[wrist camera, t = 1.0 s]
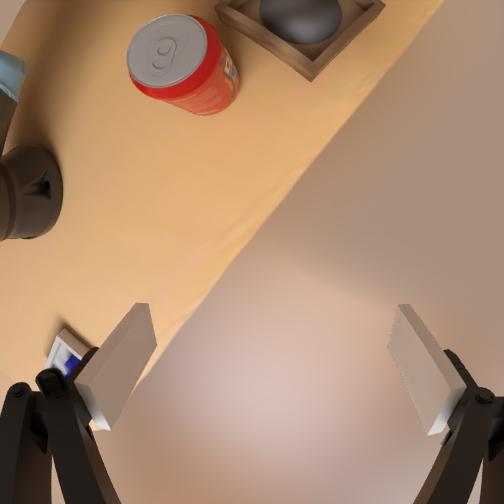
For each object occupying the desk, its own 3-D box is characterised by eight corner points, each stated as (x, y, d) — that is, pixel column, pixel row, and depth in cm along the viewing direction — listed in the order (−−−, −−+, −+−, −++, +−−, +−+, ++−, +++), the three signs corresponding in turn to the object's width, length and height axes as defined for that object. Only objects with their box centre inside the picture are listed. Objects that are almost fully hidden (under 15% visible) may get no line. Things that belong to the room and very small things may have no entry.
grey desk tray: (50, 363, 50) (43, 370, 47) (65, 327, 46) (56, 335, 43) (85, 393, 51) (79, 401, 49) (106, 362, 47) (99, 372, 44)
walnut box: (220, 20, 29) (214, 7, 25) (290, -40, 24) (290, -56, 21) (310, 82, 31) (314, 74, 27) (376, 17, 26) (386, 5, 23)
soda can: (171, 112, 33) (108, 93, 19) (186, 54, 30) (134, 7, 16) (232, 122, 33) (201, 101, 19) (248, 62, 30) (227, 8, 16)
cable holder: (74, 351, 46) (63, 363, 43) (88, 364, 47) (78, 377, 43) (61, 367, 49) (52, 379, 45) (74, 379, 49) (65, 391, 46)
